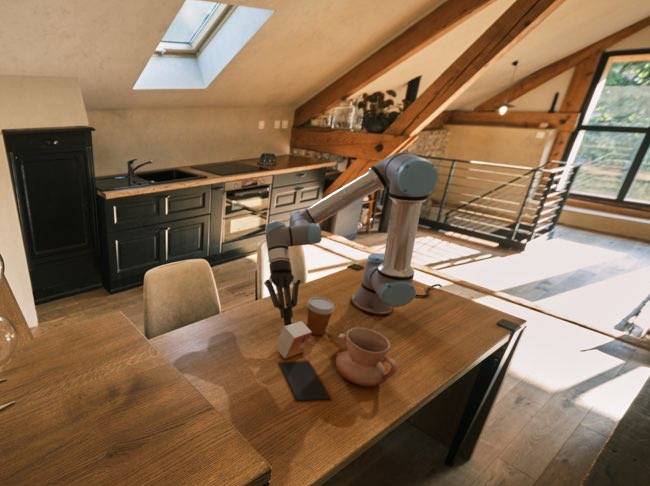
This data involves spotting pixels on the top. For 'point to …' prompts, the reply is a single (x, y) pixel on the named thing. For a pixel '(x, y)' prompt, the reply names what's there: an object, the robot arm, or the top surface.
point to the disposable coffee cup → (319, 314)
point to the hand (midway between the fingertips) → (288, 327)
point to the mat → (303, 381)
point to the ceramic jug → (364, 357)
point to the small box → (293, 339)
